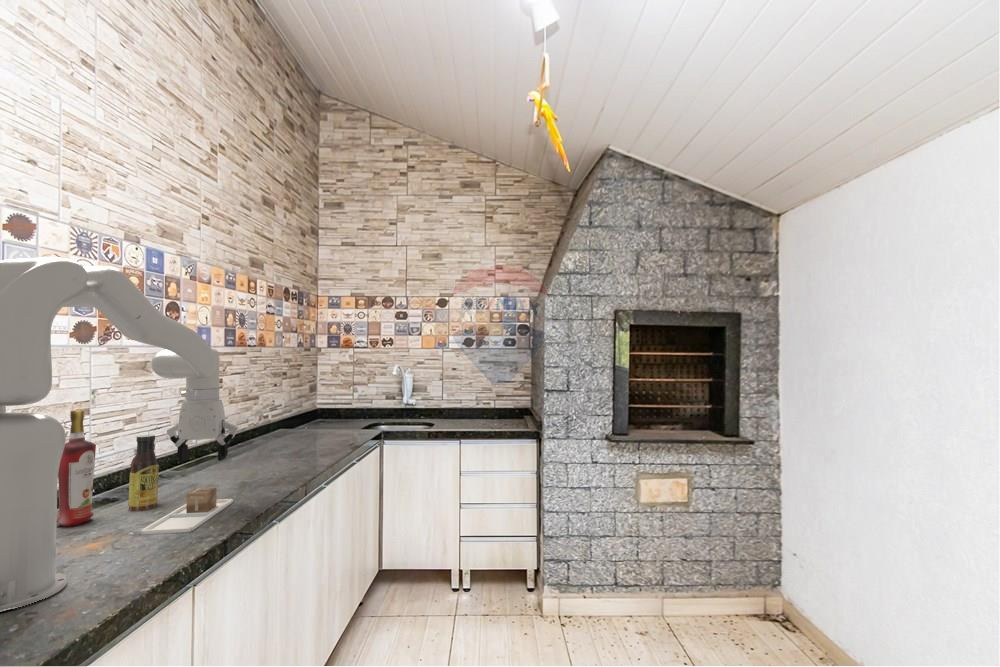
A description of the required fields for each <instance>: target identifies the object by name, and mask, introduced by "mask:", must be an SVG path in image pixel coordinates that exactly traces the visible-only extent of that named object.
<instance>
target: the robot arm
mask: <svg viewBox="0 0 1000 667" xmlns="http://www.w3.org/2000/svg"><path fill="white" fill-rule="evenodd" d="M83 307H84V308H86V307H87V308H88V307H90V308H91V307H92V308H94V309H96V310H97V312H98V313H99V314H101V315H102V316H103V317H104V318H105V319H106V320H107V321H108V322H109V323H110V324H111V325H113V327H114V328H115V329H116V330H117V331H118V332H120V334H121V335H123V336H124V337H125V338H128V339H130V340H132V341H135V342H138V343H141V344H145V345H149V346H153V347H158V348H161V349H162V350H161V351H158V352H157V353H156V354H155V355H154V356H153V357H152V359H151V363H150V365H151V369H152V371H153V372H154V373H155V375H157V376H159V377H161V378H165V379H185V390H184V391H181V392H180V396H181V397H183V398H185V401H181V402H182V403H181V405H180V406H181V407H180V409H179V410H180V411H179V416H178V423H177V424H176V425H174V426H173V427H170V428H167V430H166V433H167V435H168V437H169V439H170V441H171V442H172V443H173V444H174V446H175V447H176V448H177V459H178V462H179V463H183V462H185V461H187V460H188V458H189V445H188V444H187V443H188V442H189V441H197V440H213V439H215V440H216V441H217V443H219V444H218V446H217V461H223V460H225V459H227V456H228V451H229V450H228V445H229V444H230V442H231V441H232V440H233V439H234V438H235V437H236V436H235V435H236V434H237V433H238V430H239V426H237V425H234V424H232V423H230V422H228V421H226V413H225V407H224V403H223V400H222V399H220V363H221V362H220V353H219V350H217V349H214V348H212V347H211V346H210V344H209V343H207V341H206V340H205V339H204V338H203V337H202V336H201V335H200V334H199V333H198V332H196V331H194V330H193V329H192V328H191V327H188V326H187V325H184V324H182V323H181V322H179V321H177V320H175V319H173V318H171V317H169V316H167V315H165V314H163V313H162V312H160V311H159V309H157V307H156V306H155V305H154V304H153V303H152V302H151V301H150V300H149V299H148V298H147V296H146V295H145V294H144V293H143V292H142V291H141V290H140V289H139V287H138V286H137V285H136V284H135V283H134V282H133V281H132V279H130V277H129V276H128V275H127V274H125V272H123V271H122V270H121V269H119V268H116V267H114V266H109V265H108V266H106V265H104V266H103V265H96V266H95V265H93V266H89V265H88V266H83V264H81V263H79V262H77V261H75V260H73V259H70V258H64V257H33V258H32V257H31V258H17V259H16V258H14V259H13V258H12V259H3V260H0V610H3V609H8V608H13V607H19V606H24V605H27V604H30V605H32V604H31V603H33V604H35V603H34V602H36V603H38V602H37V601H39V600H41V601H42V599H43V600H45V598H46V599H48V598H49V597H52V596H53V595H55V594H57V593H58V592H60V591H61V590H63V589H64V588H65V587H66V585H67V583H68V577H67V575H66V574H64V573H62V572H57V569H56V564H57V562H56V561H57V523H58V522H57V520H58V472H59V466H60V461H61V458H62V454H63V451H64V447H65V444H66V443H67V442H66V441H67V436H66V435H67V434H66V430H65V427H64V426H63V425H62V423H61V422H60V421H59V420H58V419H56V418H54V417H52V416H50V415H46V414H43V413H36V412H6V411H7V407H13V406H15V407H16V406H17V407H18V406H27V405H32V404H36V403H38V402H41V401H42V400H44V399H45V398H46V397H47V396H48V395H49V394H50V393H51V392H50V391H51V390H52V388H53V387H52V386H53V368H52V367H53V362H52V361H53V360H52V343H51V342H52V341H51V340H52V339H51V338H52V337H51V336H52V334H51V333H52V327H53V323H54V320H55V319H56V316H57V315H58V313H59V312H60V311H61V310H62V308H83ZM226 430H228V431H229V432H228V434H227V435H226ZM39 602H40V601H39ZM27 606H28V605H27ZM24 607H25V606H24Z"/></svg>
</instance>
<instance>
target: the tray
mask: <svg viewBox="0 0 1000 667" xmlns="http://www.w3.org/2000/svg"><path fill="white" fill-rule="evenodd" d="M233 503H234V498H223V499H216V507H214V508H213V509H211V510H210V511H208V512H201V513H186V503H185V504H183V505H181V506H180V507H178V508H176V509H174V510H172V511H171V512H170V513H168V514H166V515H164V516H162V517H161V518H159V519H158V520H156V521H154V522H152V523H150V524H149V525H147V526H145V527H144V528H142V529H141V530H139V531H138V535H139V536H145V535H163V534H165V535H166V534H178V533H179V534H180V533H191V532H193V531H195V529H198V528H199V527H200V526H201V525H203V524H204V523H206V522H207V521H209V520H210V519H211V518H213V517H215V516H216V515H217V514H218V513H220V512H221V511H223V510H224V509H226V508H227V507H228V506H230V505H232V504H233Z"/></svg>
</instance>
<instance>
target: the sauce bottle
mask: <svg viewBox="0 0 1000 667" xmlns="http://www.w3.org/2000/svg"><path fill="white" fill-rule="evenodd" d="M155 441H156V435H155V434H146V435H145V434H144V435H143V434H142V435H137V436H136V444H137V445H136V454H135V456H134V457H133V458H132V460H131V462H130V471H129V482H128V483H129V485H128V504H127V505H128V511H129V512H141V511H146V510H151V509H154V508H155V507H156V506H157V503H158V490H159V468H160V465H159V462H158V460H157V457H156V453H155Z"/></svg>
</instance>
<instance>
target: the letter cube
mask: <svg viewBox="0 0 1000 667" xmlns="http://www.w3.org/2000/svg"><path fill="white" fill-rule="evenodd" d="M217 488H218V487H215V486H214V487H213V486H212V487H196V488H195V489H193V490H190V491H189V492H187V493H186V503H185V504H186V513H201V512H208V511H210V510H211V509H213V508H214V507H216V500H217V493H218V492H217Z"/></svg>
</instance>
